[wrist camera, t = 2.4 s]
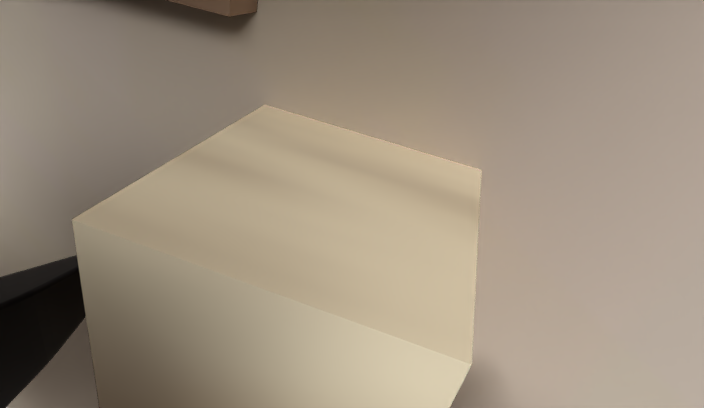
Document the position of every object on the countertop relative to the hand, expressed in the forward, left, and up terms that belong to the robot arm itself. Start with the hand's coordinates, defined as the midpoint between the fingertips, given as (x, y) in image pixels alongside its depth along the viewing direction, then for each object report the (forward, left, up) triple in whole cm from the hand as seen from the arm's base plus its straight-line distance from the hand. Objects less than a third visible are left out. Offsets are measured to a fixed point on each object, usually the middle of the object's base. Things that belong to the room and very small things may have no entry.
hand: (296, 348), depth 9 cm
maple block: (0, 0, -2) cm, 2 cm away
